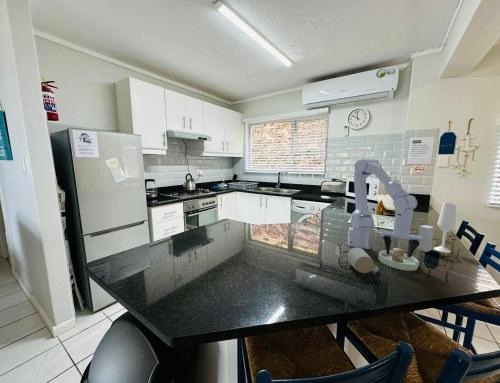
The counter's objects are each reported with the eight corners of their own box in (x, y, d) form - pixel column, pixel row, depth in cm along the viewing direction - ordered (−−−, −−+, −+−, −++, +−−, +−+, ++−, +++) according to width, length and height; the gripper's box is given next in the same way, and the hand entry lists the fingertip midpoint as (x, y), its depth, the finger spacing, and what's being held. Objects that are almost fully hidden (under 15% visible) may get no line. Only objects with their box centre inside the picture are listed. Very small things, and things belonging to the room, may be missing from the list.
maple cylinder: (392, 261, 91) (394, 250, 90) (390, 258, 94) (392, 247, 94) (404, 263, 89) (405, 252, 88) (401, 260, 93) (403, 249, 92)
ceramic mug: (354, 274, 80) (357, 254, 79) (345, 264, 88) (347, 246, 87) (383, 276, 80) (386, 256, 79) (371, 265, 88) (374, 248, 87)
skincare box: (426, 252, 104) (430, 228, 103) (415, 249, 108) (419, 226, 106) (431, 250, 108) (435, 226, 106) (420, 247, 111) (424, 224, 110)
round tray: (381, 266, 88) (382, 260, 87) (375, 253, 101) (376, 248, 100) (423, 273, 83) (424, 267, 82) (411, 259, 96) (411, 253, 95)
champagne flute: (454, 253, 104) (462, 205, 101) (437, 251, 106) (445, 203, 103) (446, 248, 110) (454, 203, 107) (431, 246, 113) (438, 201, 109)
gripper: (384, 224, 88) (380, 255, 90) (427, 229, 83) (422, 262, 85) (380, 220, 95) (377, 249, 97) (420, 224, 90) (416, 255, 91)
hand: (398, 255), depth 91 cm, fingers open, 7 cm apart
